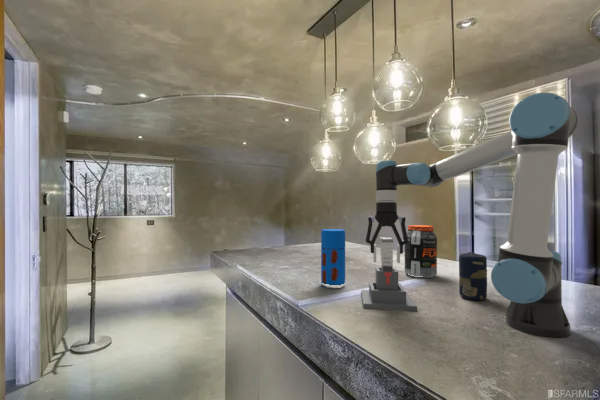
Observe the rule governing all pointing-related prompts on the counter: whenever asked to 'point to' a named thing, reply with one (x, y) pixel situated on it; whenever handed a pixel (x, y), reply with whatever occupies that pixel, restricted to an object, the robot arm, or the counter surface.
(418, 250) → the supplement tub
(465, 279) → the canister
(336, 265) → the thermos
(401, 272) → the counter surface
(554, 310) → the robot arm
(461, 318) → the counter surface
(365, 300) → the base
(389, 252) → the column
